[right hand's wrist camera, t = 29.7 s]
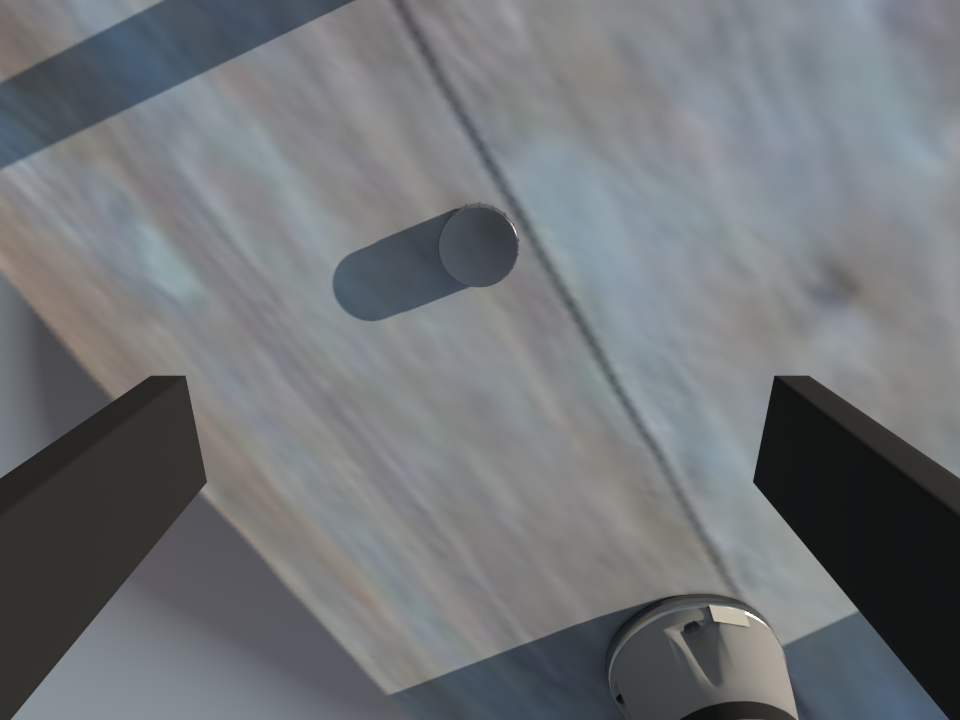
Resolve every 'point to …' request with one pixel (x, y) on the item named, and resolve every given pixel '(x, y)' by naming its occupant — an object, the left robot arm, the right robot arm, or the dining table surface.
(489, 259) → the lid
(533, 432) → the dining table surface
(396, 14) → the dining table surface
